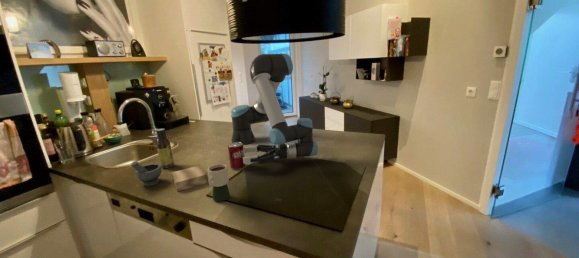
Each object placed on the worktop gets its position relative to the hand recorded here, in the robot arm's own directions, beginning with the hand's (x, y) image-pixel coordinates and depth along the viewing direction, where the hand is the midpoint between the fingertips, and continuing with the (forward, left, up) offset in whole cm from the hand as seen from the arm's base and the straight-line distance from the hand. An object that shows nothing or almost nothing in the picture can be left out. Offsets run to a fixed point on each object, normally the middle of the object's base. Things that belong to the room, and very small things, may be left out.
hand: (243, 155), depth 117 cm
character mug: (+18, +21, -7) cm, 29 cm away
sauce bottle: (+32, -26, -7) cm, 42 cm away
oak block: (+26, -1, -6) cm, 27 cm away
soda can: (+3, -2, -7) cm, 7 cm away
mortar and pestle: (+41, -11, -7) cm, 43 cm away
